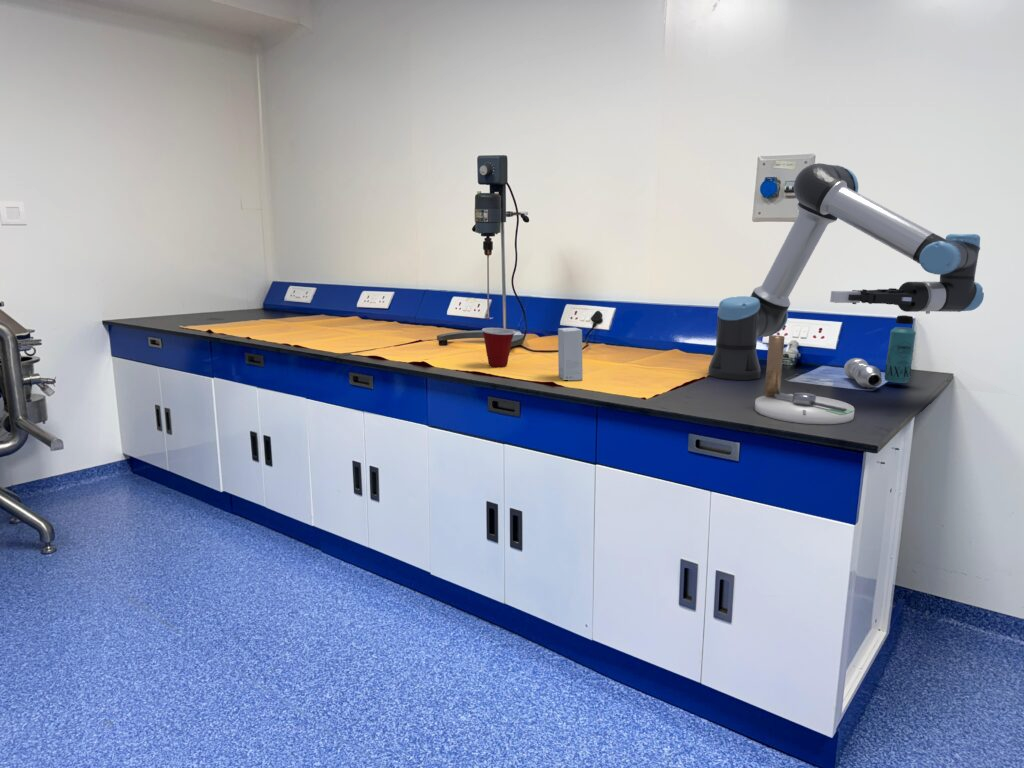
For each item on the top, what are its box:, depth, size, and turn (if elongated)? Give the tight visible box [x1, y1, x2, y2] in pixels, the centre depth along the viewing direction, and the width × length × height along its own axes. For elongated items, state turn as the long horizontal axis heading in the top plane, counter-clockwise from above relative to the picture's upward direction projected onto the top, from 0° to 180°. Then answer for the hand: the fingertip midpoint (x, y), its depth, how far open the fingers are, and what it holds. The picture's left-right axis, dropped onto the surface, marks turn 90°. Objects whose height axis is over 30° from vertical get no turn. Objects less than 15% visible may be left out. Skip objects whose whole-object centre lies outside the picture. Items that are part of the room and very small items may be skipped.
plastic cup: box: [481, 327, 516, 368], centre depth 225 cm, size 11×11×12 cm
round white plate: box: [754, 393, 855, 425], centre depth 168 cm, size 22×22×2 cm
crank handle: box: [763, 334, 846, 412], centre depth 166 cm, size 21×5×15 cm, turn 33°
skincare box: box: [557, 327, 584, 381], centre depth 206 cm, size 8×6×15 cm
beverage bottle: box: [883, 315, 917, 384], centre depth 196 cm, size 6×7×20 cm
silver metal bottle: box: [843, 357, 883, 389], centre depth 199 cm, size 6×7×20 cm
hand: (833, 296), depth 173 cm, fingers closed
